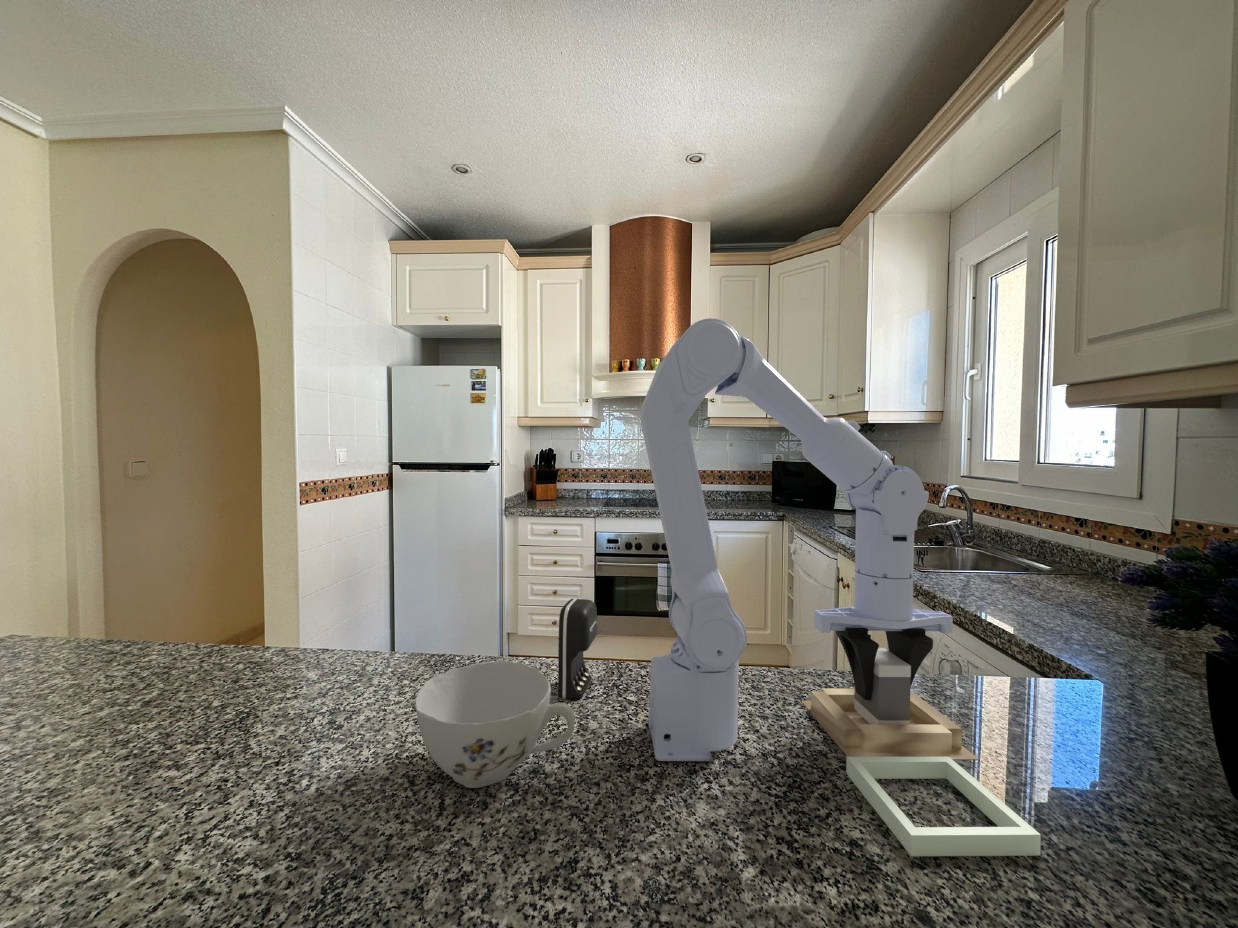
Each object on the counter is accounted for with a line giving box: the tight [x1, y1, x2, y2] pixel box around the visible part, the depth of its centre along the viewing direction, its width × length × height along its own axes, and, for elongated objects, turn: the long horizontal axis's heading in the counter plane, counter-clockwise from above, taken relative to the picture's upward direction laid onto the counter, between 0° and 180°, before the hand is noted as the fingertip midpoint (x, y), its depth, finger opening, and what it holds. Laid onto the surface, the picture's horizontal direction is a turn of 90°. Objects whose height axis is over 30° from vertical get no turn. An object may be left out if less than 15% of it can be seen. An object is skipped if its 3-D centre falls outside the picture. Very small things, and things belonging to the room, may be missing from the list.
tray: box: [845, 756, 1042, 857], centre depth 42 cm, size 10×10×2 cm
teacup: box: [414, 661, 576, 789], centre depth 47 cm, size 15×12×8 cm
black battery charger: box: [557, 597, 598, 700], centre depth 65 cm, size 7×4×11 cm, turn 171°
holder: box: [801, 687, 980, 761], centre depth 55 cm, size 13×12×3 cm
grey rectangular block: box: [853, 647, 912, 724], centre depth 55 cm, size 3×5×7 cm
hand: (881, 695), depth 55 cm, fingers closed on grey rectangular block, 3 cm apart
